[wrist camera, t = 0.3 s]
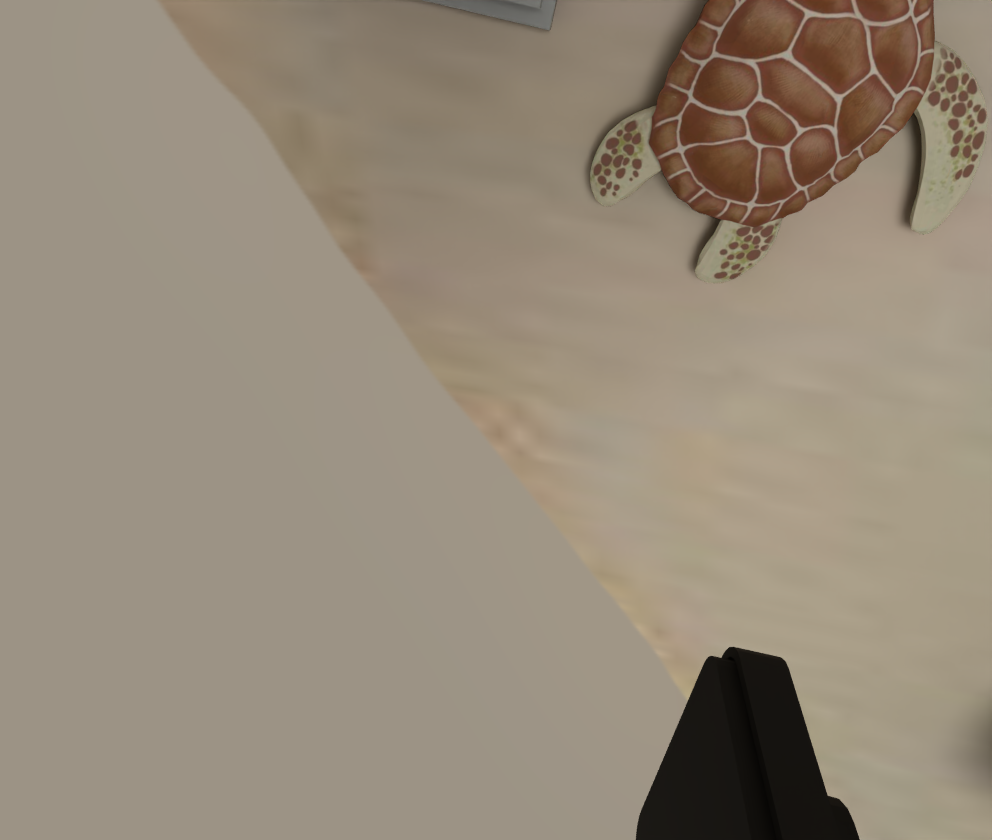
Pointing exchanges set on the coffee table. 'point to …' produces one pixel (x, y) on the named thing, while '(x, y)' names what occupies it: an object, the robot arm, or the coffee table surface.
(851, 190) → the coffee table surface
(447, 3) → the slot rack
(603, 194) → the decorative turtle
